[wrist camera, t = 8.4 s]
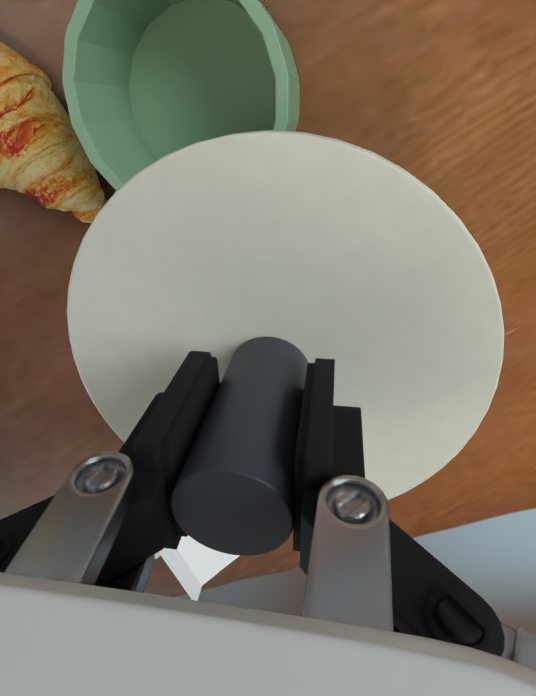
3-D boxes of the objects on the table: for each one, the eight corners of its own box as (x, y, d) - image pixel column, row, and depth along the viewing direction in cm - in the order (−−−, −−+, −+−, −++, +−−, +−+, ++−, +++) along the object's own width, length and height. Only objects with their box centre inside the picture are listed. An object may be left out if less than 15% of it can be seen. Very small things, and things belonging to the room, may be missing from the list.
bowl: (139, 196, 33) (91, 218, 27) (107, -12, 27) (33, -49, 21) (297, 199, 32) (287, 222, 25) (303, -22, 25) (290, -67, 19)
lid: (127, 473, 19) (29, 638, 13) (38, 133, 12) (-248, 156, 6) (445, 507, 17) (500, 719, 11) (551, 123, 10) (838, 145, 4)
